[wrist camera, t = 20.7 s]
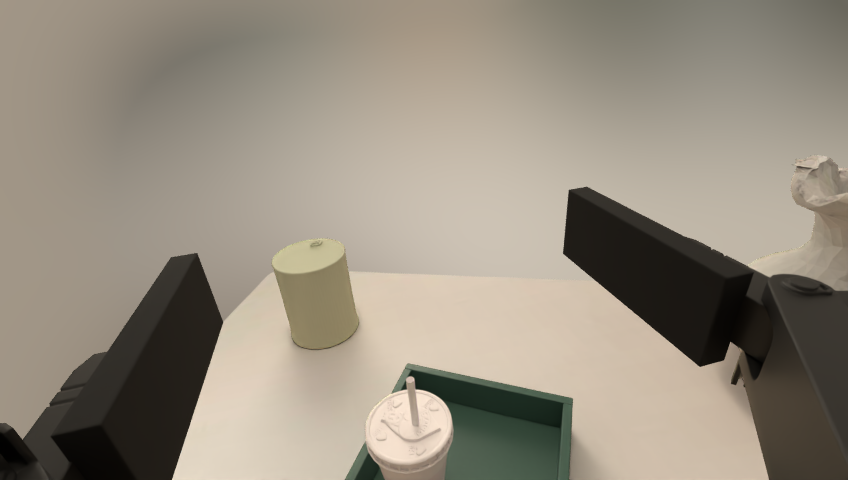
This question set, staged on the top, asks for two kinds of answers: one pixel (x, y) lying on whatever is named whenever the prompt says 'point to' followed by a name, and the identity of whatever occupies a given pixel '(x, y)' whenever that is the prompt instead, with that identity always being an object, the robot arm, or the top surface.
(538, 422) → the bin
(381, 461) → the smoothie
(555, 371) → the top surface
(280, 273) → the can
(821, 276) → the ceramic pitcher
